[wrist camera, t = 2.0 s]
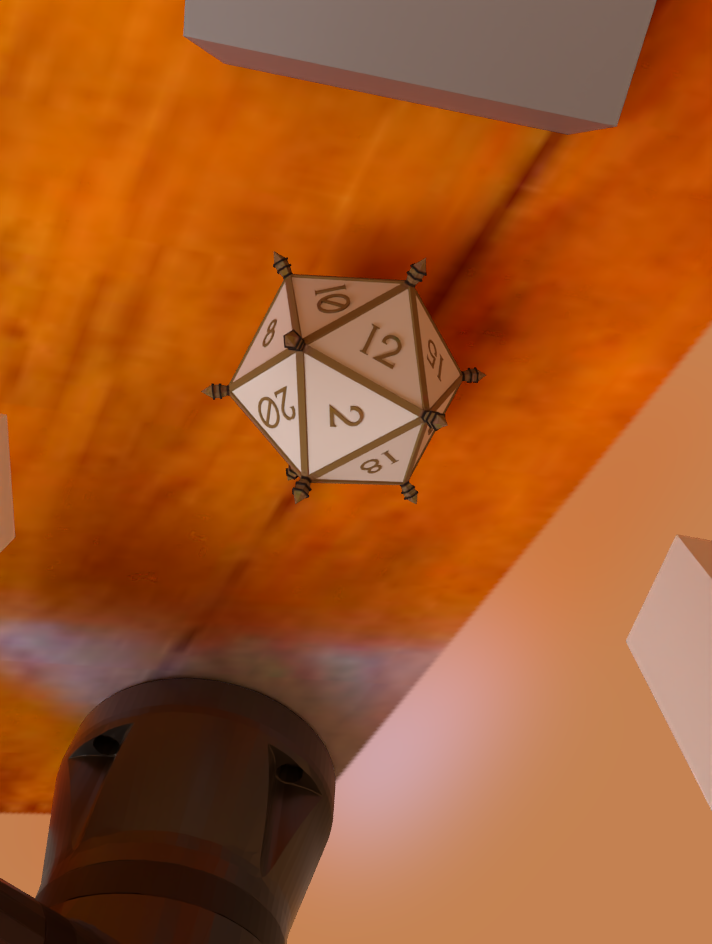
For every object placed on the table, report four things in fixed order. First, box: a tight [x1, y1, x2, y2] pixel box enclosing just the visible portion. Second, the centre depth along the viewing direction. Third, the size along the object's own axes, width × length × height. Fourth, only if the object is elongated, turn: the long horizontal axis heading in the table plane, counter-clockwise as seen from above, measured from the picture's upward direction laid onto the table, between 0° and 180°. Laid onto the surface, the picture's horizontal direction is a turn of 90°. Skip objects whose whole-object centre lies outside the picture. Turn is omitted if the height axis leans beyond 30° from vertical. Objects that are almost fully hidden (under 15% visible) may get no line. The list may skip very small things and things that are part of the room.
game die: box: [201, 252, 486, 504], centre depth 22 cm, size 9×8×10 cm
